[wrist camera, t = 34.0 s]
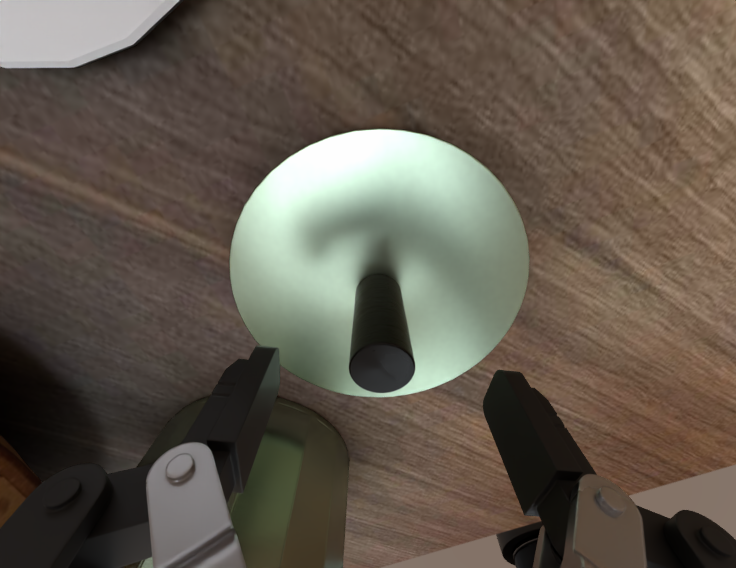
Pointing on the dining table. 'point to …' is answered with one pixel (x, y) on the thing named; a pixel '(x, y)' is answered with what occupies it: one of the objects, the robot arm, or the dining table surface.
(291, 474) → the enamel pot
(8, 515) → the pot
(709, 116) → the dining table surface
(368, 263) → the lid
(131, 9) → the plate
